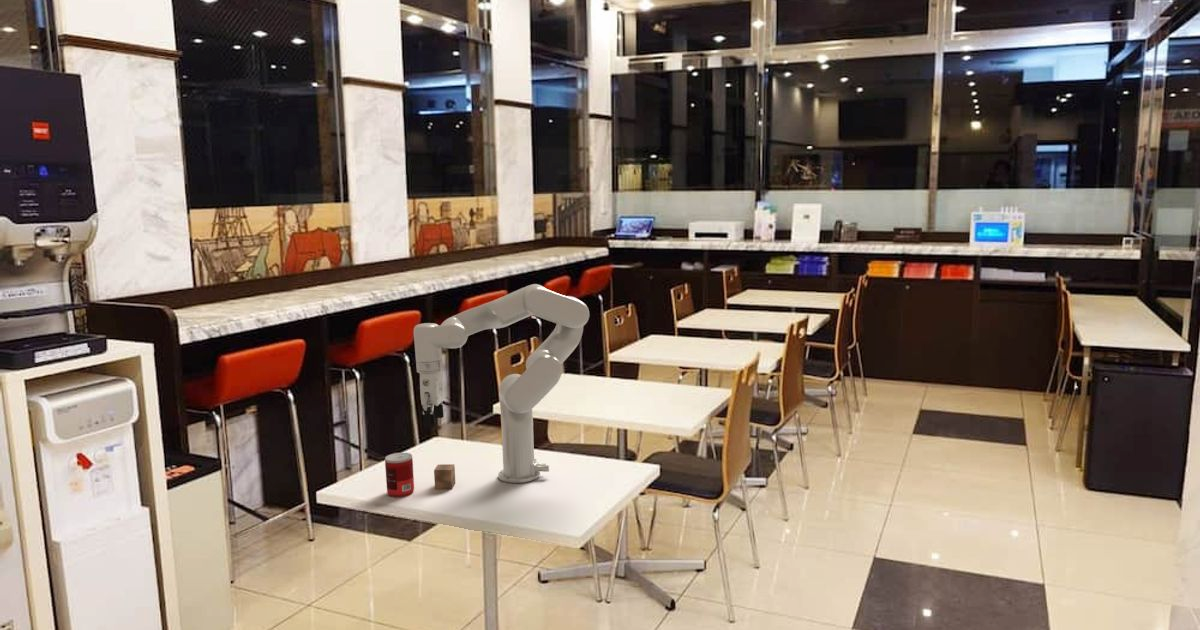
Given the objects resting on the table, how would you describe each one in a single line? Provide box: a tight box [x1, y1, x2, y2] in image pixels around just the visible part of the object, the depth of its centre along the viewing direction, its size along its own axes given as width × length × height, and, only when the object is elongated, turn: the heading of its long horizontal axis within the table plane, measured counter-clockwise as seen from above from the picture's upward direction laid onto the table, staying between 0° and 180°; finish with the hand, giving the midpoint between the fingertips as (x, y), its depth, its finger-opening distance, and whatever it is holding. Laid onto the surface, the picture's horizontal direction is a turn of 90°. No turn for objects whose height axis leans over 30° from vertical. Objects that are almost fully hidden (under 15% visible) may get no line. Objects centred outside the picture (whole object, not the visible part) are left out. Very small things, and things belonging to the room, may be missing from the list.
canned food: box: [384, 452, 415, 498], centre depth 250 cm, size 8×8×11 cm
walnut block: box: [433, 463, 456, 490], centre depth 255 cm, size 5×5×6 cm
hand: (434, 422), depth 253 cm, fingers open, 9 cm apart
